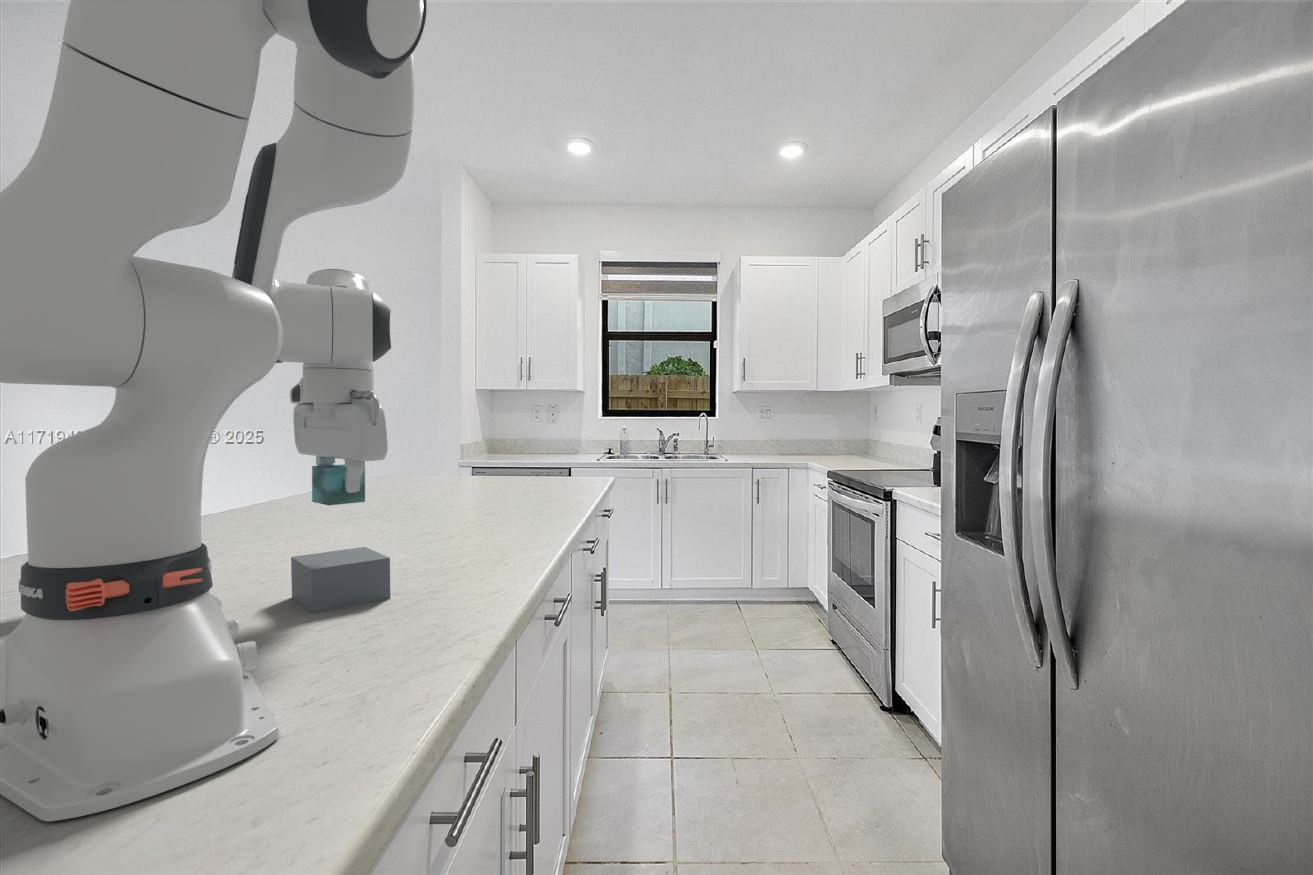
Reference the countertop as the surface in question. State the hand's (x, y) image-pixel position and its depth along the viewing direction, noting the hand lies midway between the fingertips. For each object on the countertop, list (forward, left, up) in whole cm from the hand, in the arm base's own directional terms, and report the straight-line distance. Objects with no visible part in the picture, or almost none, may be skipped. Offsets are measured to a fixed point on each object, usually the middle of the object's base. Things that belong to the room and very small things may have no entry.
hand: (340, 490), depth 89 cm
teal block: (0, 0, -2) cm, 2 cm away
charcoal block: (0, 0, -16) cm, 16 cm away
